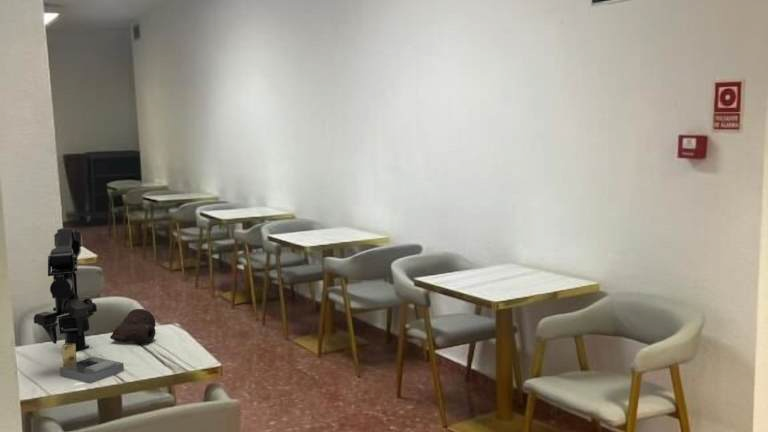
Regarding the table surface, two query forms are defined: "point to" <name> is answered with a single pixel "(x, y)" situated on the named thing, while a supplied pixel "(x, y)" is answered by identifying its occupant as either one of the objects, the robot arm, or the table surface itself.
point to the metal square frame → (91, 369)
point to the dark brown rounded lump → (136, 328)
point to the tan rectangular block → (69, 354)
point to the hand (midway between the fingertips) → (68, 339)
